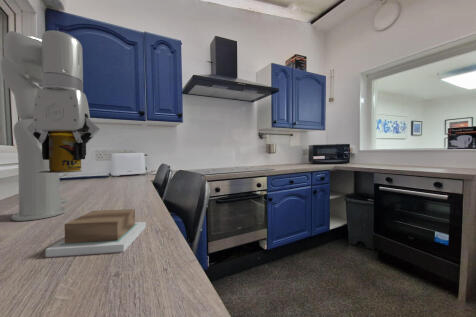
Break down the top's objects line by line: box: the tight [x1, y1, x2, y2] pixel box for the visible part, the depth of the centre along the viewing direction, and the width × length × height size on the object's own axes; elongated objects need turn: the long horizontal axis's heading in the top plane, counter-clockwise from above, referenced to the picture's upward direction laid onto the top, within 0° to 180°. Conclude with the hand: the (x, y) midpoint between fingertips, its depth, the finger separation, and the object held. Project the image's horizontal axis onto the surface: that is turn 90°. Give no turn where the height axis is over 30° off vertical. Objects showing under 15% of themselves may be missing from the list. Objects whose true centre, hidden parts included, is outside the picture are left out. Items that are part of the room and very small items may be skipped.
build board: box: [45, 221, 147, 258], centre depth 46 cm, size 14×14×2 cm
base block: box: [64, 208, 136, 244], centre depth 46 cm, size 10×10×4 cm
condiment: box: [39, 131, 85, 174], centre depth 48 cm, size 7×8×12 cm
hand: (64, 158), depth 48 cm, fingers closed on condiment, 6 cm apart
